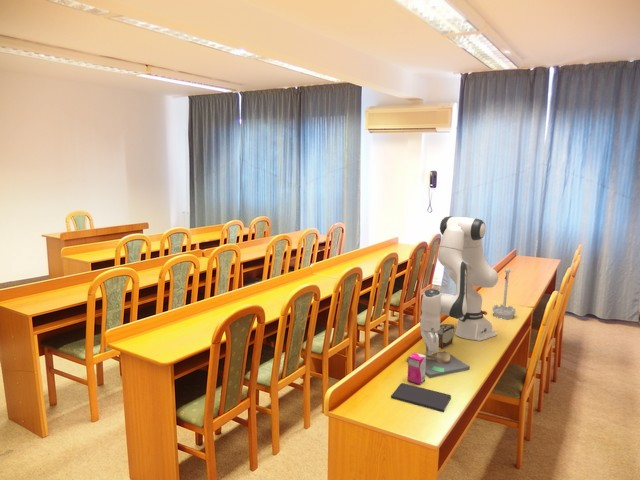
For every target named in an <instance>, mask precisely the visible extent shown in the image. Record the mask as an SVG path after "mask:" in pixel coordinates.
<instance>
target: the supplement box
mask: <svg viewBox="0 0 640 480" xmlns="http://www.w3.org/2000/svg"><path fill="white" fill-rule="evenodd" d="M425 355H426V354H422V353H417V352H413V353H411V354H410V355H408V356H407V358H408V362H407V382H410V383H412V384H415V385H418V386H420V385H421V384H423V382H425V381H426V375H425V366H426V356H425Z"/></svg>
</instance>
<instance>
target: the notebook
mask: <svg viewBox="0 0 640 480" xmlns="http://www.w3.org/2000/svg"><path fill="white" fill-rule="evenodd" d="M390 399H394V400H397V401H400V402H405V403H408V404H412V405H415V406H419V407H423V408H427V409H430V410H433V411H438V412H442V413H444V412H445V409H446V408H447V406H448V404H449V402H450V401H451V399H452V395H451V394H448V393H445V392H440V391H436V390H433V389H432V390H431V389H428V388H426V387H425V388H424V387H420V386H416V385H414V384H413V385H412V384H408V383H405V382H401V383H400V384H399V385H398V386H397V388H396V389H395V390H394V392H392V394H391V396H390Z"/></svg>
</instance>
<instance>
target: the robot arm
mask: <svg viewBox="0 0 640 480" xmlns="http://www.w3.org/2000/svg"><path fill="white" fill-rule="evenodd" d="M486 230H487V229H486V223H485V222H484V220H482V219H480V218H474V217H466V216H452V215H451V216H445V217H443V218H442V219H441V221H440V223H439V232H440V234H441V235H442V236H441V238H440V242H439V246H438V249H437V259H438V260H437V261H439V263H440V264H441V266H443V267H444V268H445V269H448V270H449V271H448V273H449V274H448V275H449V277H450V279H451V281H453V282H454V284H455V285H456V290H455V295H452V294H445V293H442V292H440V290H439V289H436V288H429V289H426V290H424V291H423V294H422V300H421V304H420V305H421V306H420V307H421V309H420V310H421V315H420V317H419V324H420V326H419V327H420V336H421V337H422V339H423V341H424V346H425V348H424V349H425V351H426V345H427V346H428V349H429V350H428V355H429V356H432V354H433V353H438V352H439V349H440V348H439V338H438V335H437V331H439V330H440V325H441V315H443V316H448V317H450V318H453V319H457V324H456V327H455V328H456V329H455V330H454V334H455V336H457V337H460V338H461V339H465V340H473V341H477V342H481V341H484V340H487V339H491V338H495V337H497V336H498V335H497V332H496V331H494V330H493V325H492V322H491V321H489V320H488V319H486V317H484V316H487V315H488V311H486V310H482V306H483V305H482V303H483V297H482V295H481V293H479V292H478V290H476V289H475V287H479V288H483V289H484V288H489V289H490V288H491V289H493V288H494V287H495V286H497V284H498V282H499V281H498V280H499V274H498V272H497V270H495V269H494V268H493V266H491V265H490V264H489V263H488V262H487V259H486V257H485V255H484V251H483V249H484V248H483V242H482V241H483V238H484V237H485V235H486ZM474 286H475V287H474Z"/></svg>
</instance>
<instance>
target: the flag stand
mask: <svg viewBox="0 0 640 480" xmlns="http://www.w3.org/2000/svg"><path fill="white" fill-rule="evenodd" d="M504 272H505V277H504V279H505V280H504V293H503V304H500V306H499V304H494V305H493V306H492V312H493V316H494V317H495V316H496V317H495V318H497V317H498V318H497V319H500V318H502V319H501V320H512V319H511V318H513V319H514V316H515V314H516V310H517V309H516V307H513V306H511V305H508V306H507V298H508V297H507V295H508V287H509V285H508V284H509V276H510V273H511V269H510V268H508V267H507V268H505V270H504Z"/></svg>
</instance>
